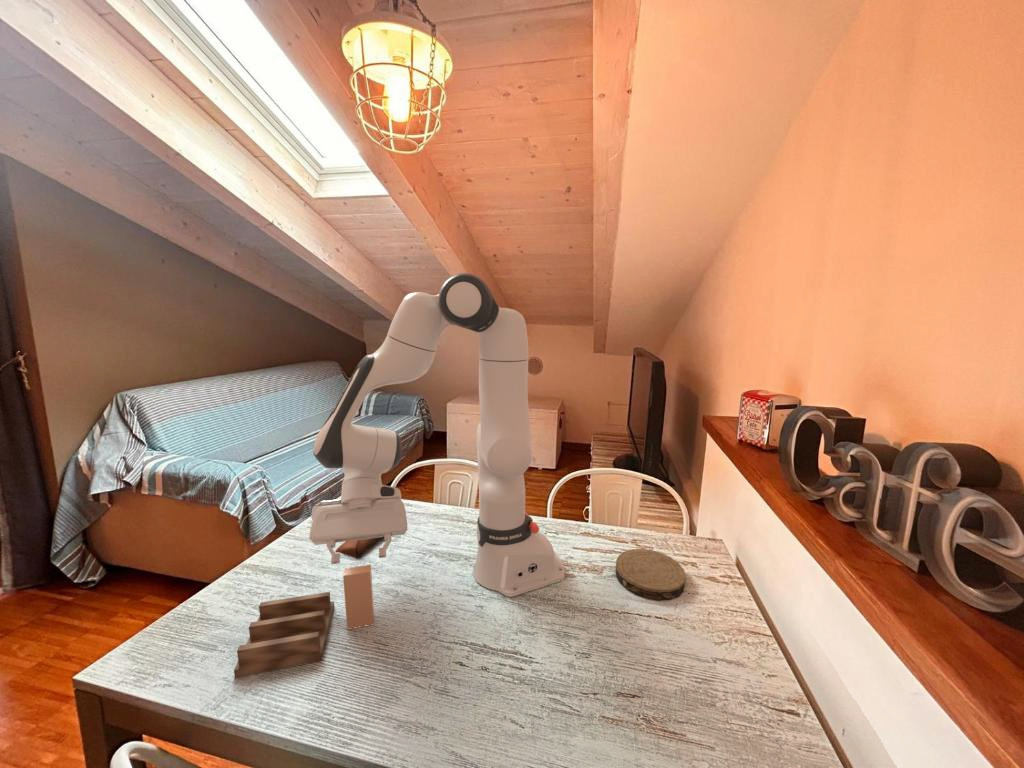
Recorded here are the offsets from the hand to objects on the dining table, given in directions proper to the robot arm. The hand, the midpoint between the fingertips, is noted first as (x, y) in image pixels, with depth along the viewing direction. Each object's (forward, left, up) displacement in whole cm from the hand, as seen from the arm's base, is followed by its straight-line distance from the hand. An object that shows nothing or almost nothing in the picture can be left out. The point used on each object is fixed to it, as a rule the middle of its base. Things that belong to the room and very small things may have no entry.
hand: (359, 560), depth 86 cm
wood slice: (-66, +7, -11) cm, 68 cm away
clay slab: (0, +5, -11) cm, 12 cm away
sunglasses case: (+1, -28, -12) cm, 30 cm away
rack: (+13, +6, -11) cm, 18 cm away
